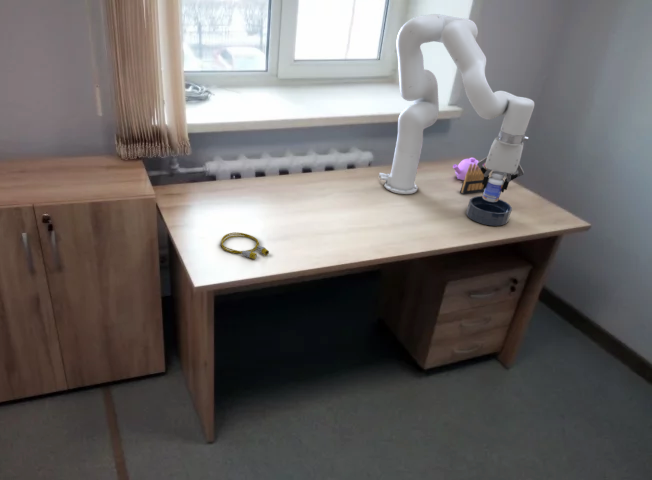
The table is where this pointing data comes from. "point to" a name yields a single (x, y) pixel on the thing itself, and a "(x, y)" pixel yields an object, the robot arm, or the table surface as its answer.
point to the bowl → (488, 211)
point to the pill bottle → (494, 187)
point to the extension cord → (249, 252)
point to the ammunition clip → (473, 180)
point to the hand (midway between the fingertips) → (493, 188)
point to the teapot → (464, 167)
